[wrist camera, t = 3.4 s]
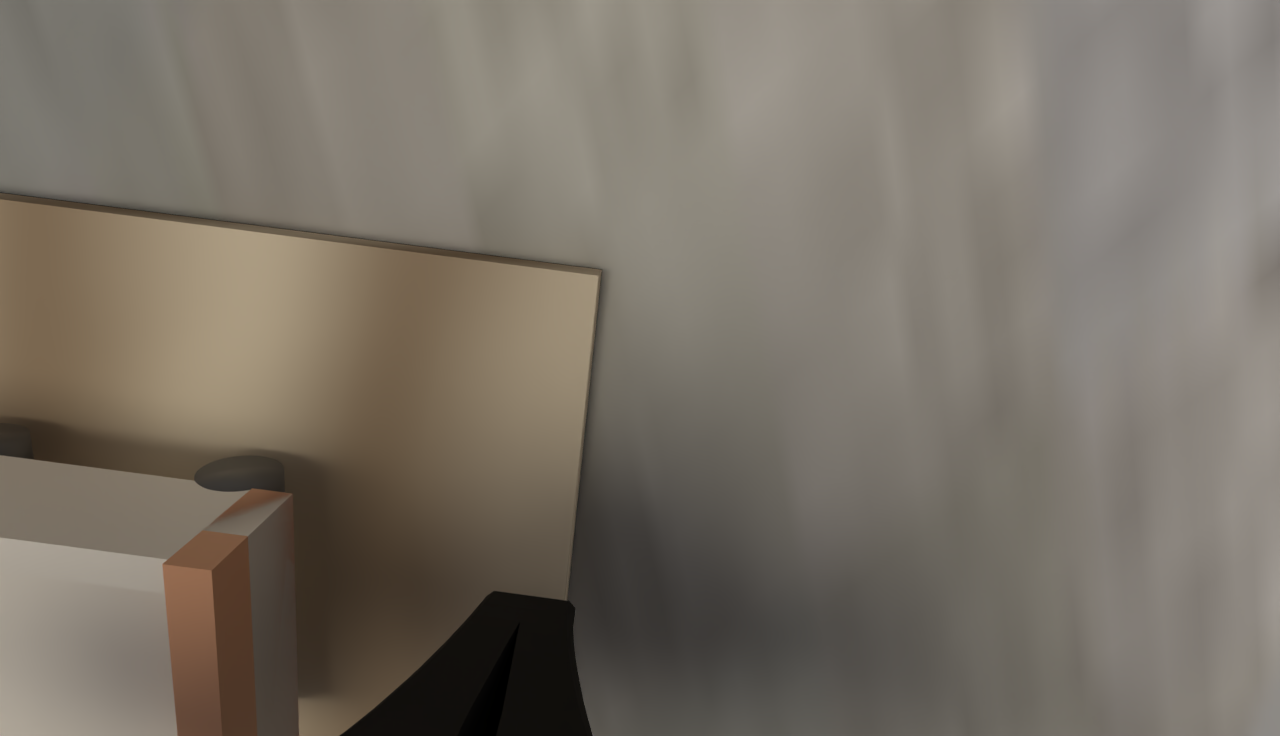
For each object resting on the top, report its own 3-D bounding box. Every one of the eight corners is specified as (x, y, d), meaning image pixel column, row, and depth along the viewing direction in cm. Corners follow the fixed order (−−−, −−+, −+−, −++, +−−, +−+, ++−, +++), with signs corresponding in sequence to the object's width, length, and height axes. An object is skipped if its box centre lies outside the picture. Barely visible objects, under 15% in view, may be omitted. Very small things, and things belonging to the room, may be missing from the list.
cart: (324, 464, 12) (211, 570, 9) (326, 717, 13) (231, 875, 11) (-49, 415, 12) (-279, 506, 9) (-4, 673, 13) (-188, 819, 11)
